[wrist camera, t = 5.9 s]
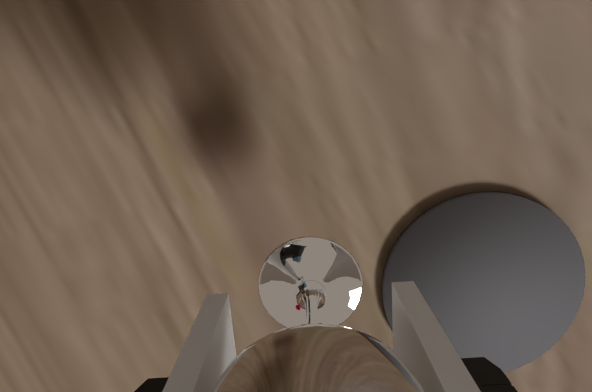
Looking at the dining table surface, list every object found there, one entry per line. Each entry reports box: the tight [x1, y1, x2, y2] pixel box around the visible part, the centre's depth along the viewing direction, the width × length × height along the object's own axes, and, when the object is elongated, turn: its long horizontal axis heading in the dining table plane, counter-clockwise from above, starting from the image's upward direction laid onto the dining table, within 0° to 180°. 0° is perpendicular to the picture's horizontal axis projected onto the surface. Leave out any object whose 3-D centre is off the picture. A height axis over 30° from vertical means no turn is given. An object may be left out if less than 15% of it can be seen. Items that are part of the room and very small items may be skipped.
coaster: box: [382, 192, 585, 373], centre depth 25 cm, size 12×12×1 cm
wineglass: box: [211, 236, 429, 392], centre depth 11 cm, size 6×6×12 cm
